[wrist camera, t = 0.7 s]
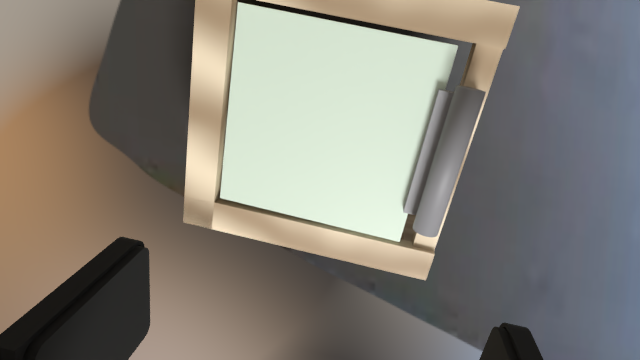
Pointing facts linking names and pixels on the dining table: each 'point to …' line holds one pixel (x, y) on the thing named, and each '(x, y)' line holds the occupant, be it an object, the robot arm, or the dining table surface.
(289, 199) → the trapdoor
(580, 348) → the dining table surface
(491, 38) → the trapdoor frame
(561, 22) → the dining table surface
